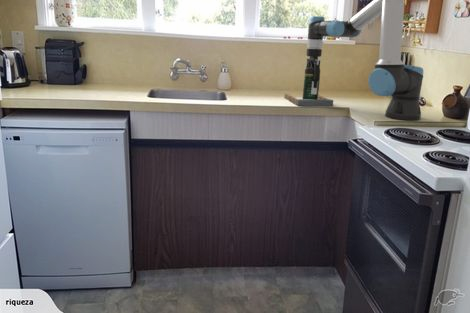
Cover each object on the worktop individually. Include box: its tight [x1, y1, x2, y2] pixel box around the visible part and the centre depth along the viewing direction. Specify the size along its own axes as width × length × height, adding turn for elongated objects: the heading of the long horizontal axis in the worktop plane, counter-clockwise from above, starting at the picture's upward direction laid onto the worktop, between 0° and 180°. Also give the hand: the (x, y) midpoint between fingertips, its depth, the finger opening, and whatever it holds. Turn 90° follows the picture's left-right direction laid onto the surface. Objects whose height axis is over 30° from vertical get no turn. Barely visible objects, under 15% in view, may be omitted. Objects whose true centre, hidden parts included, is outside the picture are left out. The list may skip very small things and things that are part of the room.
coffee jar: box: [302, 67, 321, 99], centre depth 220 cm, size 10×8×19 cm
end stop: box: [295, 98, 334, 107], centre depth 216 cm, size 3×18×3 cm, turn 99°
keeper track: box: [283, 92, 328, 106], centre depth 228 cm, size 24×18×2 cm
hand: (310, 92), depth 222 cm, fingers closed on coffee jar, 9 cm apart
